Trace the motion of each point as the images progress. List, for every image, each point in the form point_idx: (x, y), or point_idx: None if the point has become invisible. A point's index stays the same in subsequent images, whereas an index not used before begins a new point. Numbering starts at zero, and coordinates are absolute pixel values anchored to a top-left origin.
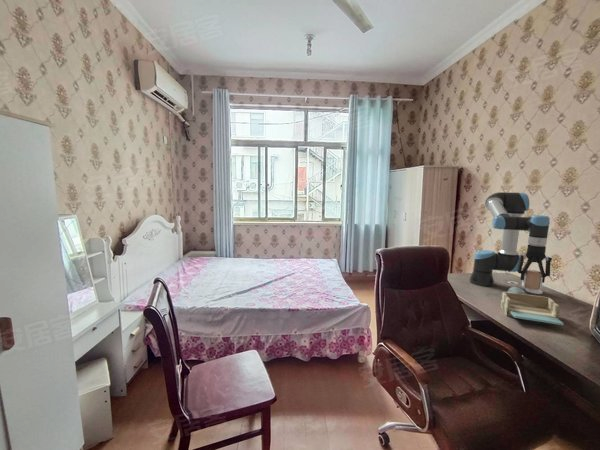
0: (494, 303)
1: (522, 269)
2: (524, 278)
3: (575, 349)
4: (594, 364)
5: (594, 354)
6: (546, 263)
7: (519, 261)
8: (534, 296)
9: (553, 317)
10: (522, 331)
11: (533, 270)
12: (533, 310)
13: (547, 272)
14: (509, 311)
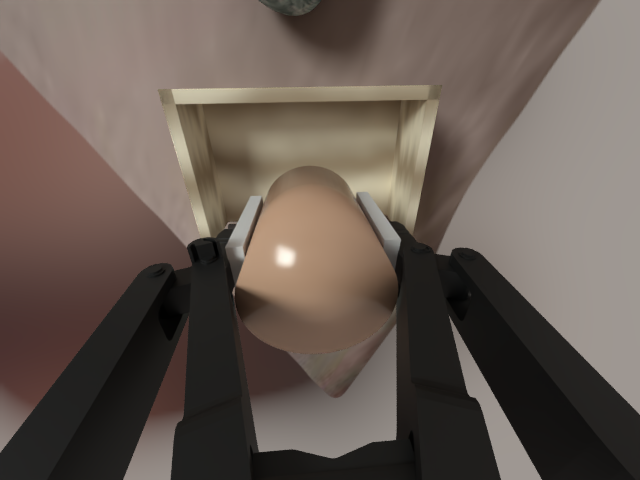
0: (167, 55)
1: (191, 289)
2: None
3: None
4: (363, 367)
5: (385, 337)
6: (553, 434)
7: (28, 447)
8: (354, 100)
9: None
10: None
11: (337, 249)
12: (326, 166)
13: (455, 324)
14: (229, 220)
